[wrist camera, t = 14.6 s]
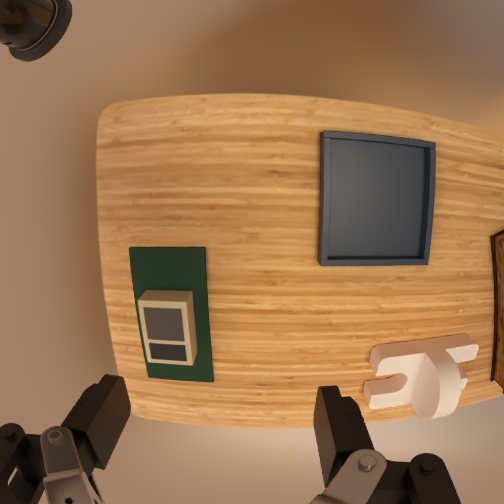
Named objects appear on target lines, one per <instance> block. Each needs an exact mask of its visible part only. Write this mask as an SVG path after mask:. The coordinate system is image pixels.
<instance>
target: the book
mask: <svg viewBox="0 0 504 504" xmlns="http://www.w3.org/2000/svg"><path fill="white" fill-rule="evenodd" d="M490 238H491V247H492V259H493V273H494V299H495V320H494V346H493V360H492V371H491V382H492V381H493V380H495V381H496V382H497V383H498V384H499V385H500V386H501V387H502V388H503V394H504V230H503V231H501V232H499V233H497V234H495V235H493V236H491V237H490Z"/></svg>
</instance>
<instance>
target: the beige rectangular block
mask: <svg viewBox="0 0 504 504" xmlns="http://www.w3.org/2000/svg"><path fill="white" fill-rule="evenodd" d="M138 307H139V314H140V320H141V327H142V333H143V339H144V344H145V350H146V355H147V360H148V362H153V363H165V364H179V365H193V363H194V360H195V357H196V354H197V341H196V330H195V319H194V307H193V294H192V291H171V290H146V291H145V292H144V293H143V295H142V296H141V297H140V298H139V299H138Z"/></svg>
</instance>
